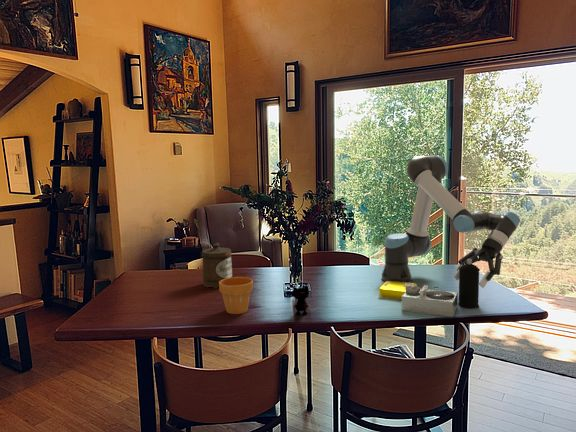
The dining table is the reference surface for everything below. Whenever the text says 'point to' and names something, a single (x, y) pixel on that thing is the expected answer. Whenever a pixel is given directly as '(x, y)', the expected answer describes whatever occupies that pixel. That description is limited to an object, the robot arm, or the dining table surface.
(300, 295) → the cat figurine
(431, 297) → the gearbox
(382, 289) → the element tile
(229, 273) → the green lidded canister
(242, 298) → the flower pot
